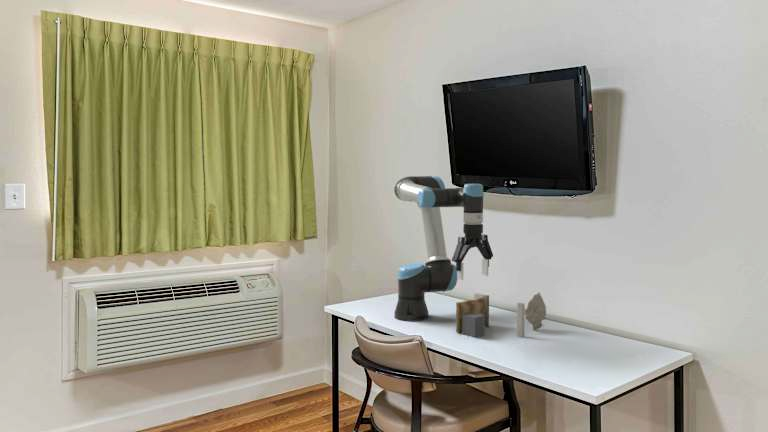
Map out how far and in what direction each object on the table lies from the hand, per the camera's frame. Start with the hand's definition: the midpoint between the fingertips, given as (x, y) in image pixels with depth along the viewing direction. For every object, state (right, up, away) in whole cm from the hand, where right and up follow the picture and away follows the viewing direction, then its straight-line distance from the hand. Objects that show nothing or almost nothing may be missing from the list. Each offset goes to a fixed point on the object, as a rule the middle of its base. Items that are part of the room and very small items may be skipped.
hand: (472, 277), depth 232 cm
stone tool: (+27, -22, +7) cm, 36 cm away
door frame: (+11, -22, +8) cm, 26 cm away
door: (0, -22, +8) cm, 23 cm away
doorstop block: (0, -23, +1) cm, 23 cm away
